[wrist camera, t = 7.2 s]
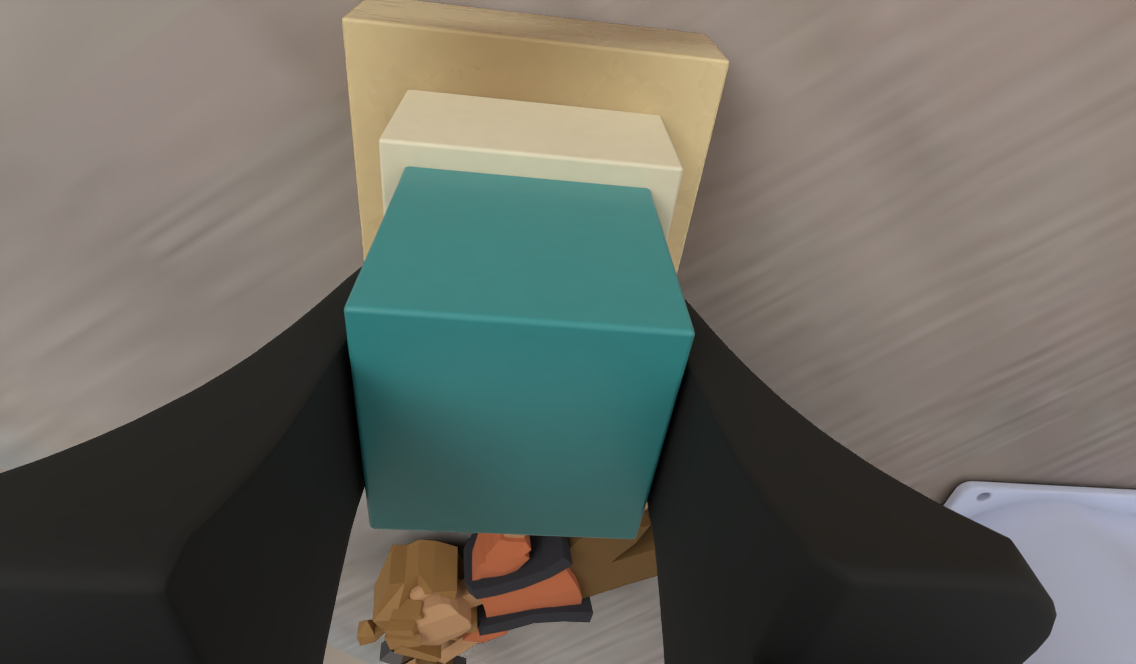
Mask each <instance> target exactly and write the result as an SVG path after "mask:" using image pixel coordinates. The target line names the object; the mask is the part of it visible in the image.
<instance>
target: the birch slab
mask: <svg viewBox="0 0 1136 664" xmlns="http://www.w3.org/2000/svg"><path fill="white" fill-rule="evenodd" d="M342 27H343V38H344V49H345V60H346V71H347V82H348V93H349V104H350V114H351V125H352V136H353V147H354V158H355V169H356V180H357V191H358V201H359V212H360V223H361V234H362V245H363V256H364V261H365V259H366V257H367V254H368V252H369V250H370V247H371V245H372V243H373V240H374V238H375V236H376V234H377V231H378V229H379V227H380V224H381V222H382V220H383V217H384V214H383V199H382V185H381V170H380V155H379V139H380V137H381V136H382V134H383V132H384V130H385V129H386V127H387V125H388V123H389V122H390V120H391V118H392V116H393V115H394V113H395V111H396V109H397V108H398V106H399V104H400V102H401V101H402V99H403V97H404V95H405V94H406V92H407V90H419V91H429V92H439V93H449V94H458V95H468V96H478V97H487V98H497V99H507V100H517V101H526V102H536V103H546V104H555V105H565V106H575V107H585V108H594V109H604V110H614V111H623V112H633V113H643V114H652V115H659V116H660V117H661V119H662V121H663V124H664V126H665V128H666V130H667V133H668V135H669V137H670V140H671V142H672V144H673V146H674V149H675V151H676V153H677V156H678V158H679V160H680V162H681V165H682V167H683V174H682V179H681V183H680V187H679V192H678V196H677V201H676V205H675V209H674V214H673V218H672V222H671V227H670V231H669V235H668V240H667V245H668V249H669V252H670V255H671V258H672V261H673V265H674V268H675V271H676V274H677V273H678V269H679V265H680V261H681V256H682V252H683V248H684V244H685V240H686V236H687V232H688V228H689V224H690V220H691V216H692V212H693V208H694V204H695V200H696V196H697V192H698V188H699V184H700V180H701V176H702V172H703V168H704V164H705V160H706V156H707V152H708V148H709V144H710V140H711V136H712V132H713V128H714V124H715V120H716V116H717V112H718V108H719V104H720V100H721V96H722V92H723V88H724V84H725V80H726V76H727V72H728V68H729V60H728V59H727V58H726V57H725V56H724V55H723V53H722V52H721V51H720V50H719V49H718V48H717V47H716V45H715V44H714V43H713V42H712V41H711V40H710V39H709V38H708V36H707V35H705V34H699V33H691V32H682V31H673V30H665V29H656V28H647V27H639V26H630V25H621V24H613V23H604V22H595V21H587V20H578V19H569V18H561V17H552V16H543V15H535V14H526V13H517V12H509V11H500V10H491V9H483V8H474V7H465V6H457V5H448V4H439V3H431V2H422V1H413V0H364V1H362V2H361V3H360V4H359V5H358V6H356V7H355V8H354V9H353V10H352V11H350V12H349V13H348V14H347V15H345V16H344V17H343V19H342Z"/></svg>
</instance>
